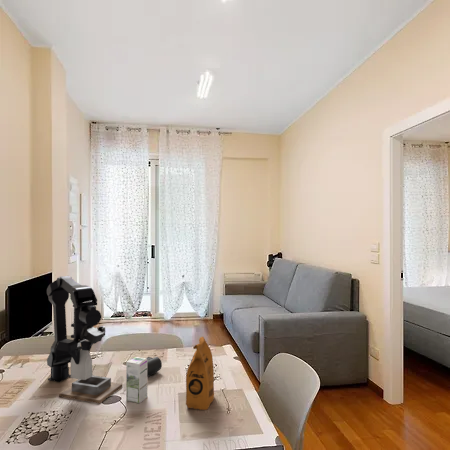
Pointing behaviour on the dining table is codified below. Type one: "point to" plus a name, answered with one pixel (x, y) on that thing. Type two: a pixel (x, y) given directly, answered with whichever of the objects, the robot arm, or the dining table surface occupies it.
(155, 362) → the end cap
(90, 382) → the dock
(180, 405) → the dining table surface
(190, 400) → the coffee package
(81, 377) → the tea bag
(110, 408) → the dining table surface
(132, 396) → the syrup box
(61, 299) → the robot arm
